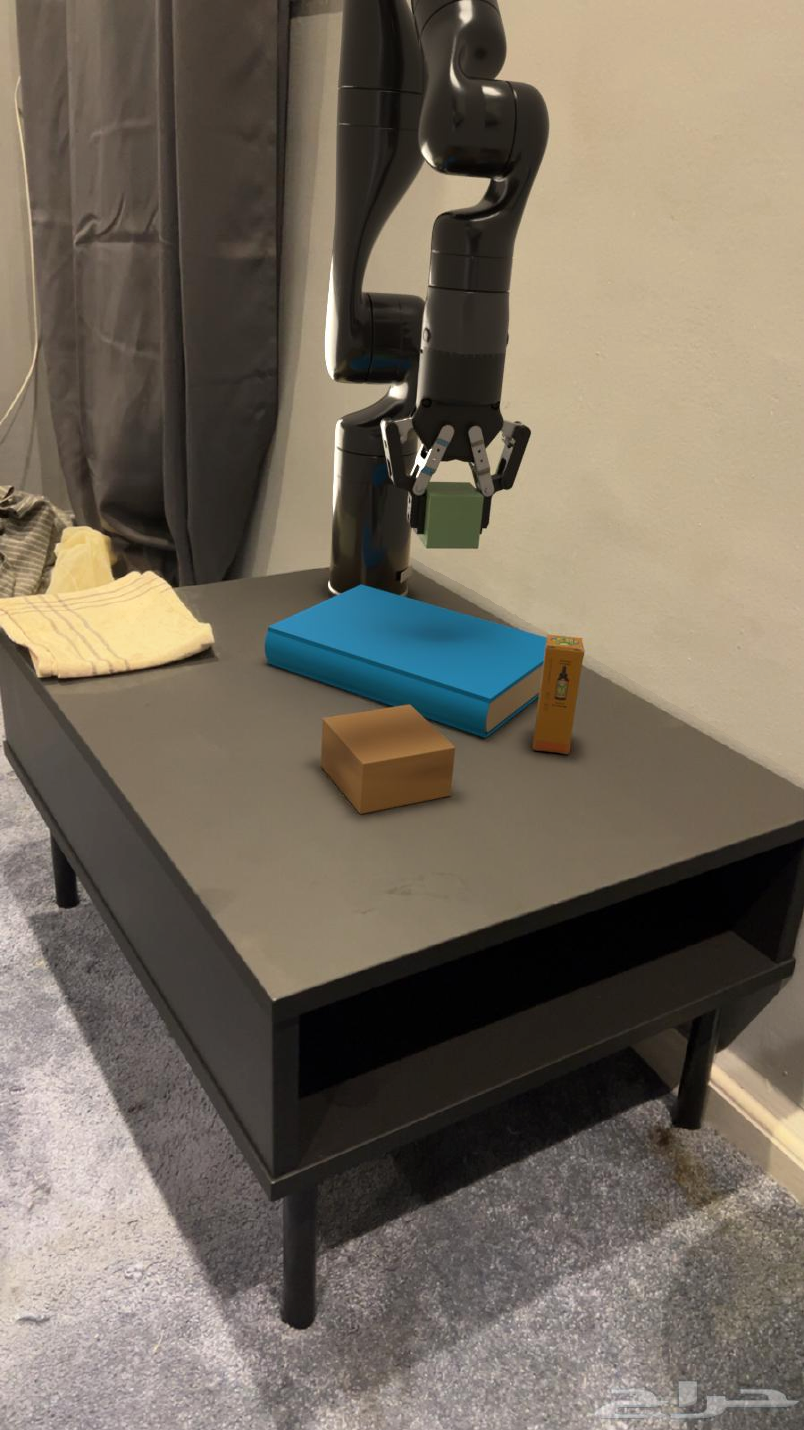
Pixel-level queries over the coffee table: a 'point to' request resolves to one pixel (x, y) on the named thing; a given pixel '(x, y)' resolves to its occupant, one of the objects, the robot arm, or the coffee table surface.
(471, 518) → the green block
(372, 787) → the oak block
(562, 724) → the supplement box
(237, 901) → the coffee table surface
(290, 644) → the book
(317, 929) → the coffee table surface
